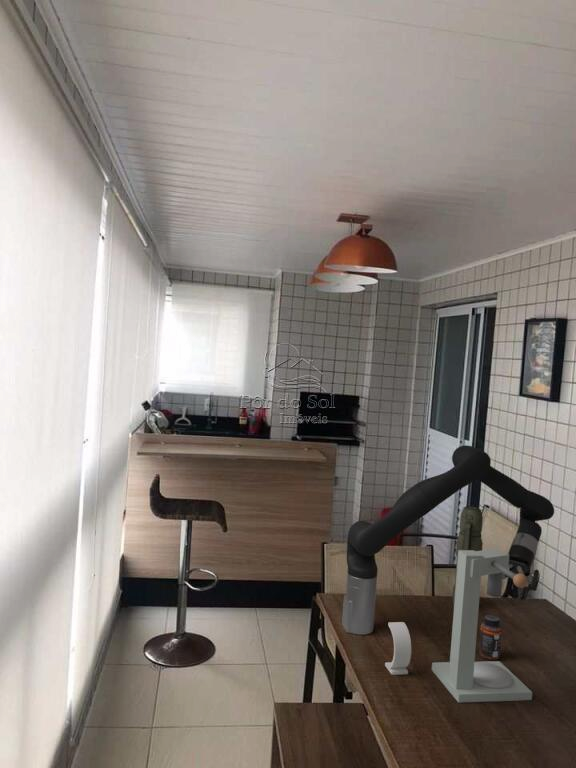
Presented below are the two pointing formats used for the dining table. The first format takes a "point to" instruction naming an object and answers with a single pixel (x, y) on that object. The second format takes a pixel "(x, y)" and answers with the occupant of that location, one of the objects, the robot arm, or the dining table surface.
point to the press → (462, 670)
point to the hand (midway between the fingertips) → (507, 595)
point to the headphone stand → (400, 648)
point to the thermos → (469, 533)
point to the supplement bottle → (490, 638)
